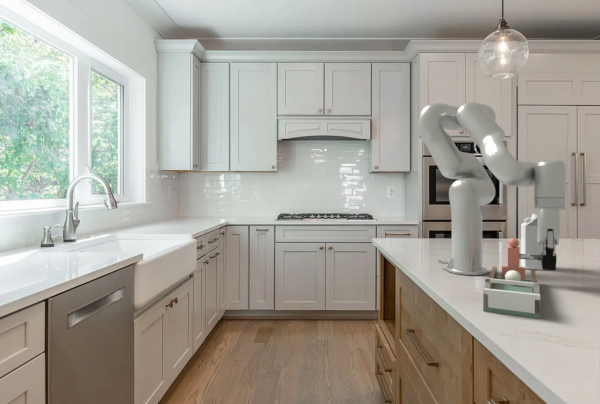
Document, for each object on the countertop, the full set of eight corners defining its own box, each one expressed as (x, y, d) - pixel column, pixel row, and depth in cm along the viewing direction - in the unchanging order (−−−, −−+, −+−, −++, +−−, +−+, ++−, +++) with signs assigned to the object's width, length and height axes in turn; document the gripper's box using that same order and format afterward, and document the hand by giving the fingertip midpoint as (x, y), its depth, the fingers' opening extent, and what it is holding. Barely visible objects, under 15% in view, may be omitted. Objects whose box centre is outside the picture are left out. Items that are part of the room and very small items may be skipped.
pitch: (483, 311, 88) (483, 293, 88) (493, 279, 119) (493, 266, 119) (540, 318, 82) (540, 300, 82) (534, 283, 114) (535, 269, 114)
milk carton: (543, 266, 138) (543, 213, 138) (548, 270, 131) (549, 214, 131) (520, 265, 140) (521, 213, 140) (525, 269, 134) (525, 214, 133)
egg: (504, 285, 107) (504, 271, 107) (505, 282, 111) (505, 268, 111) (521, 287, 105) (521, 272, 105) (521, 283, 109) (521, 269, 109)
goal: (483, 306, 88) (483, 283, 88) (485, 300, 93) (485, 277, 93) (540, 314, 82) (540, 288, 82) (539, 306, 88) (539, 283, 87)
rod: (501, 277, 115) (502, 237, 114) (502, 275, 117) (502, 236, 117) (556, 282, 108) (556, 240, 108) (555, 280, 111) (555, 239, 110)
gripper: (533, 203, 119) (532, 262, 119) (534, 205, 104) (534, 272, 105) (562, 203, 115) (561, 264, 115) (568, 205, 101) (567, 275, 101)
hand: (548, 267), depth 110 cm, fingers closed on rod, 3 cm apart
